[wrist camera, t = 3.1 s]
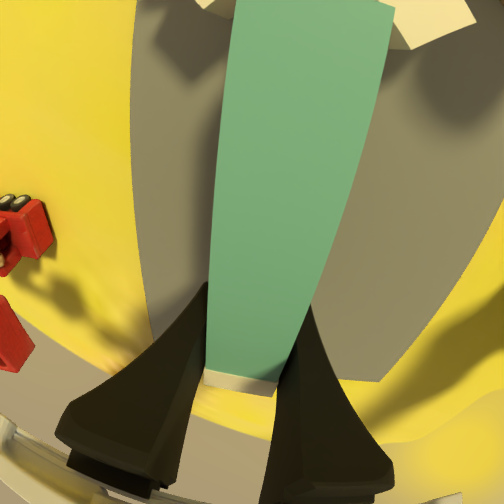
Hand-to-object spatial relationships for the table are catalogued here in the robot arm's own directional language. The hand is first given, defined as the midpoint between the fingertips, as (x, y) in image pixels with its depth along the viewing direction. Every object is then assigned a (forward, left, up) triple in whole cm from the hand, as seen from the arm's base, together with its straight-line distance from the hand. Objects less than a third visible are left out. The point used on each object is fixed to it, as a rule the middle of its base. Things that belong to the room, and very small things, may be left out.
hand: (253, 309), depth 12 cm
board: (-2, -6, -4) cm, 7 cm away
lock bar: (0, -4, +1) cm, 4 cm away
